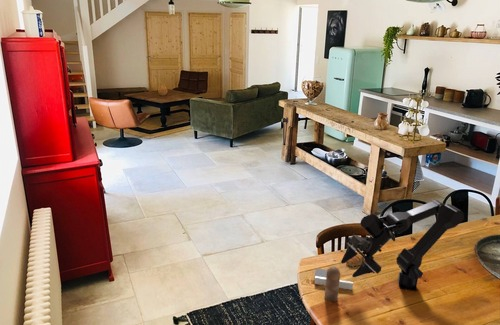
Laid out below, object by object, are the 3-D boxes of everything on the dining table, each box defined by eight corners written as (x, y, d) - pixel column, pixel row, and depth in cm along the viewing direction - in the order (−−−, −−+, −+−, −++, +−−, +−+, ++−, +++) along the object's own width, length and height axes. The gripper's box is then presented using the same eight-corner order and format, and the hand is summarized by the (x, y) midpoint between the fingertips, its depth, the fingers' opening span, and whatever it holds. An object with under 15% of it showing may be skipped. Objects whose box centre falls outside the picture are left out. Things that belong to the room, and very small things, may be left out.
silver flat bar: (352, 288, 162) (353, 282, 161) (352, 289, 161) (352, 283, 160) (314, 282, 166) (315, 276, 165) (314, 283, 165) (315, 277, 164)
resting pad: (332, 271, 173) (332, 270, 173) (331, 281, 166) (331, 280, 166) (315, 269, 174) (315, 268, 174) (314, 278, 168) (314, 277, 168)
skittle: (337, 294, 158) (340, 265, 154) (337, 302, 154) (340, 272, 149) (324, 292, 159) (327, 263, 155) (324, 300, 155) (326, 270, 150)
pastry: (354, 269, 175) (355, 262, 173) (341, 263, 179) (342, 255, 178) (367, 262, 180) (367, 254, 179) (354, 255, 185) (355, 248, 184)
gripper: (352, 218, 158) (324, 245, 159) (378, 242, 141) (346, 273, 142) (368, 233, 163) (340, 260, 164) (394, 258, 146) (363, 288, 147)
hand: (347, 269), depth 154 cm, fingers open, 9 cm apart
